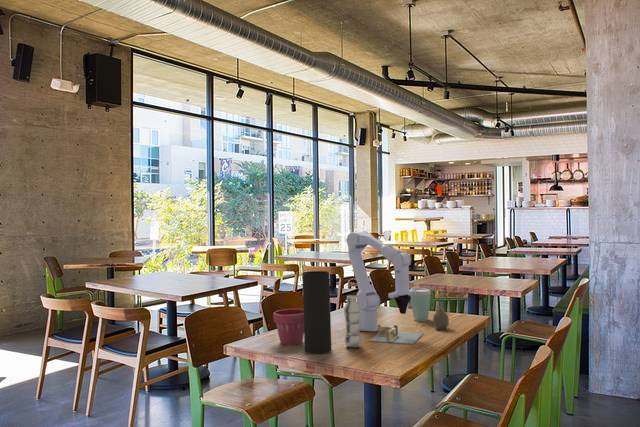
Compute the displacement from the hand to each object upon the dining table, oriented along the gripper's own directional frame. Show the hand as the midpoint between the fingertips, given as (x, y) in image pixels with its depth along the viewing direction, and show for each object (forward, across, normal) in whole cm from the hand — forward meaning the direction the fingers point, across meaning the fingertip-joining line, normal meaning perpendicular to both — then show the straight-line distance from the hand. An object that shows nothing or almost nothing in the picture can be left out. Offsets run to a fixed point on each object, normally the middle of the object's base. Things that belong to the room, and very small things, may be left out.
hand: (402, 313), depth 227 cm
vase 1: (+10, -42, +4) cm, 43 cm away
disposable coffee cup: (+10, +29, +17) cm, 35 cm away
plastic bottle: (+10, -28, -1) cm, 30 cm away
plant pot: (+10, -42, +23) cm, 49 cm away
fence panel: (+9, -9, -2) cm, 13 cm away
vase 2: (+10, +21, -2) cm, 23 cm away
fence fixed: (+9, -6, +4) cm, 11 cm away
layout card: (+9, -5, -1) cm, 11 cm away
